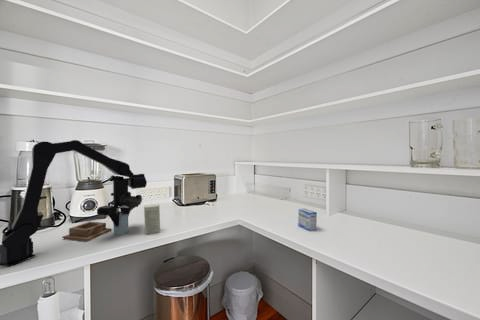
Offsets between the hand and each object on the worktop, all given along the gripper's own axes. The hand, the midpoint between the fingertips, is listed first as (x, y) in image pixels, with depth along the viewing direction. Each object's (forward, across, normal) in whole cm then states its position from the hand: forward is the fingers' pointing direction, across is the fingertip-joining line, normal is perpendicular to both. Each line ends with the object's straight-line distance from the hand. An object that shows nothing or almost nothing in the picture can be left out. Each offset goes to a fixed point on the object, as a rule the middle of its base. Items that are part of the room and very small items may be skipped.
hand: (120, 224), depth 88 cm
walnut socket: (+4, -5, +12) cm, 13 cm away
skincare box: (+4, +4, -13) cm, 14 cm away
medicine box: (+4, +25, -83) cm, 87 cm away
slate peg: (+4, 0, 0) cm, 4 cm away
